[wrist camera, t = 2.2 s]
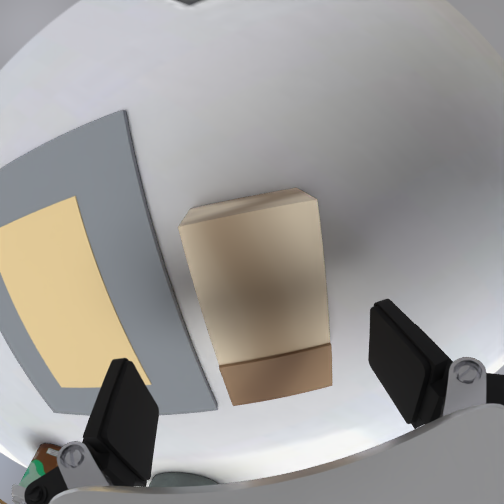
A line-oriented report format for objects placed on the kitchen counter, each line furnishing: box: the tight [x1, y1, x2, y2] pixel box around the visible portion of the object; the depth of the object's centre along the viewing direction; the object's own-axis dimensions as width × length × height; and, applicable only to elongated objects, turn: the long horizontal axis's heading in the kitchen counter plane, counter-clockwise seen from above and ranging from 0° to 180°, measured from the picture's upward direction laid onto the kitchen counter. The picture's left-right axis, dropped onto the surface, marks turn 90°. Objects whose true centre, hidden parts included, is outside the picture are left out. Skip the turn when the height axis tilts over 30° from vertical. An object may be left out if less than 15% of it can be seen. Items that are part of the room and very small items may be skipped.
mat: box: [0, 110, 218, 415], centre depth 16 cm, size 16×20×1 cm
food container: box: [12, 443, 62, 504], centre depth 18 cm, size 12×6×10 cm, turn 158°
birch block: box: [178, 188, 332, 406], centre depth 15 cm, size 6×10×4 cm, turn 10°
